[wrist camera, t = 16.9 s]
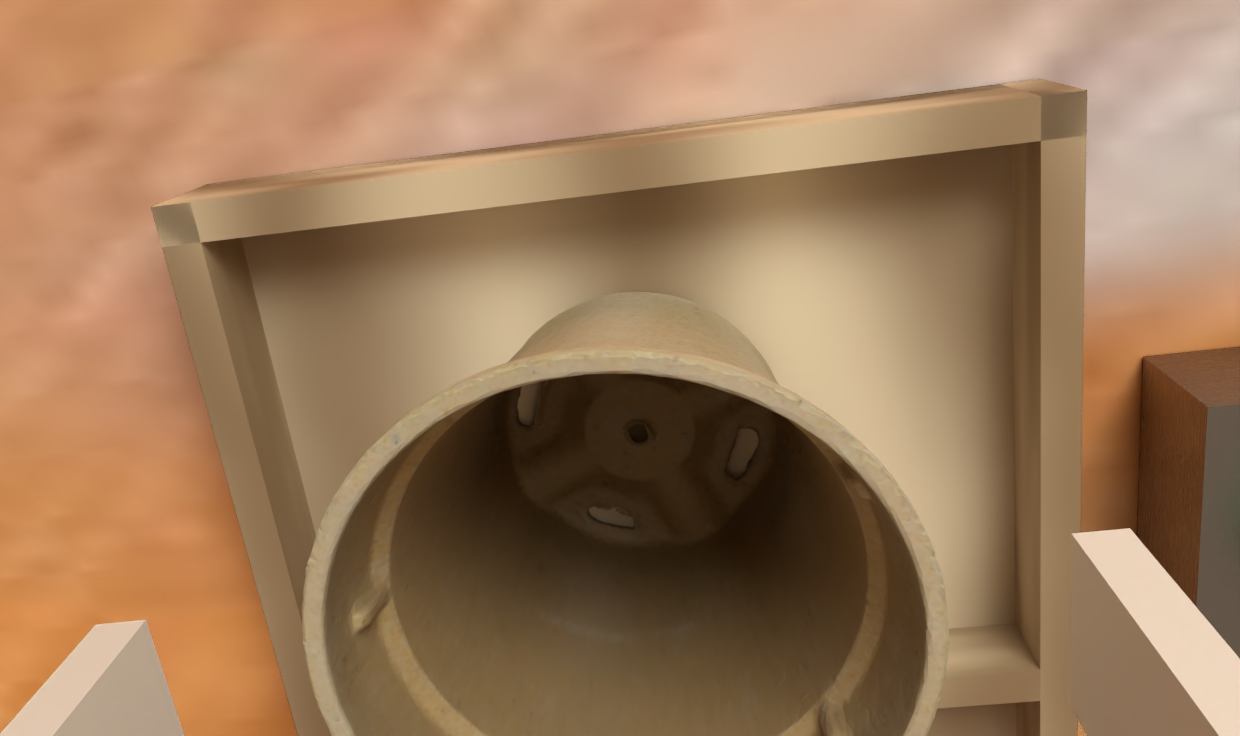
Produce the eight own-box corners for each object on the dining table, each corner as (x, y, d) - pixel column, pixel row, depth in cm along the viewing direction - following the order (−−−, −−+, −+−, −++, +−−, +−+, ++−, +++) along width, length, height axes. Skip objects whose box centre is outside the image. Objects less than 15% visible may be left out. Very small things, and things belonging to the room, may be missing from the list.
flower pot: (872, 586, 24) (968, 883, 16) (478, 630, 25) (383, 931, 17) (834, 185, 21) (929, 305, 13) (387, 252, 22) (220, 402, 14)
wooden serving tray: (426, 1032, 31) (405, 1121, 29) (207, 184, 23) (150, 207, 20) (1039, 1003, 29) (1072, 1095, 27) (1040, 79, 21) (1087, 89, 19)
